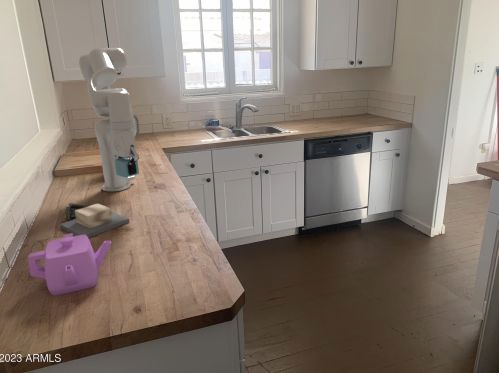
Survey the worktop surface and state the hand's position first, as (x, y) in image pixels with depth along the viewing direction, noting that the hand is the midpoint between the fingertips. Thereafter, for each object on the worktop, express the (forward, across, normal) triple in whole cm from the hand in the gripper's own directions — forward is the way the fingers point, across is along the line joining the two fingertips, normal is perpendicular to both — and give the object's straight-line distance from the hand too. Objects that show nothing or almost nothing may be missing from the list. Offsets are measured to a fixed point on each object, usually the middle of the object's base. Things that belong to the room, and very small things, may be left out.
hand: (127, 172), depth 150 cm
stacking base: (+16, +1, -16) cm, 23 cm away
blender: (+18, -53, +35) cm, 66 cm away
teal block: (+1, 0, 0) cm, 1 cm away
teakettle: (+16, +31, -39) cm, 52 cm away
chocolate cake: (+17, -11, -16) cm, 25 cm away
